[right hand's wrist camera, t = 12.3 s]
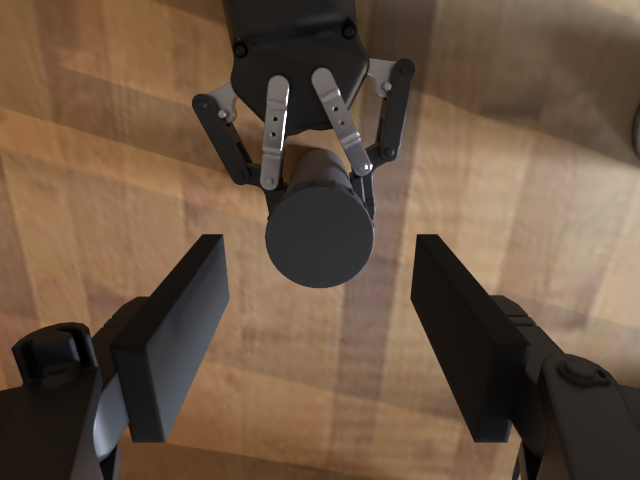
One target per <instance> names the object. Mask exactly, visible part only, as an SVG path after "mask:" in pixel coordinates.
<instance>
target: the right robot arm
mask: <svg viewBox="0 0 640 480" xmlns="http://www.w3.org/2000/svg"><path fill="white" fill-rule="evenodd" d="M228 301H229V289H228V279H227V269H226V259H225V249H224V239H223V234H202V236H201V237H200V238H199V239H198V240H197V242H196V243H195V244H194V245H193V246H192V247H191V249H190V250H189V251H188V252H187V253H186V254H185V256H184V257H183V258H182V259H181V260H180V262H179V263H178V264H177V265H176V266H175V267H174V269H173V270H172V271H171V272H170V273H169V274H168V276H167V277H166V278H165V279H164V280H163V282H162V283H161V284H160V285H159V286H158V287H157V289H156V290H155V291H154V292H153V293H152V295H151V296H150V297H136V298H135V299H133V300H131V301H129V302H128V303H126V304H124V305H123V306H121V308H120V309H119V310H118V311H117V312H116V313H115V314H114V315H113V316H112V319H109V320H108V321H107V322H106V323H105V324H104V327H103V328H101V329H100V330H99V331H98V332H97V333H96V334H95V335H94V336H93V337H92V338H91V335H90V331H89V328H88V327H87V326H85V325H84V324H82V323H75V322H69V323H59V324H55V325H51V326H47V327H44V328H42V329H39V330H37V331H34V332H32V333H30V334H28V335H27V336H25V337H24V338H22V339H20V340H19V341H18V342H17V343H16V344H15V345H14V346H13V347H12V348H11V349H12V352H13V355H14V358H15V360H16V363H17V366H18V369H19V371H20V374H21V377H22V380H23V384H22V386H21V387H16V388H11V389H7V390H2V391H0V480H119V474H120V466H121V458H122V454H121V448H120V444H119V439H120V437H121V435H122V434H123V432H124V430H125V429H126V427H127V425H129V429H130V433H131V437H132V442H166V440H167V438H168V435H169V433H170V431H171V429H172V426H173V424H174V422H175V420H176V417H177V415H178V413H179V411H180V408H181V406H182V404H183V402H184V399H185V397H186V395H187V393H188V391H189V388H190V386H191V384H192V382H193V379H194V377H195V375H196V373H197V370H198V368H199V366H200V364H201V361H202V359H203V357H204V355H205V352H206V350H207V348H208V346H209V344H210V341H211V339H212V337H213V335H214V332H215V330H216V328H217V326H218V323H219V321H220V319H221V317H222V314H223V312H224V310H225V308H226V305H227V303H228ZM411 301H412V303H413V305H414V308H415V310H416V312H417V314H418V317H419V319H420V321H421V323H422V326H423V328H424V330H425V332H426V335H427V337H428V339H429V341H430V344H431V346H432V348H433V350H434V352H435V355H436V357H437V359H438V361H439V364H440V366H441V368H442V370H443V373H444V375H445V377H446V379H447V382H448V384H449V386H450V388H451V391H452V393H453V395H454V397H455V399H456V402H457V404H458V406H459V408H460V411H461V413H462V415H463V417H464V420H465V422H466V424H467V426H468V429H469V431H470V433H471V435H472V438H473V440H474V442H508V437H509V433H510V429H511V425H512V423H513V425H514V427H515V428H516V430H517V432H518V433H519V435H520V437H521V439H522V440H521V444H520V448H519V452H518V455H517V459H516V463H515V467H514V470H513V476H512V480H518V477H519V474H520V473H521V480H640V389H637V388H632V387H627V386H622V385H618V384H617V382H616V381H615V379H614V378H613V377H612V376H611V374H610V373H609V372H607V371H606V370H605V369H603V368H602V367H600V366H599V365H597V364H595V363H593V362H591V361H589V360H587V359H585V358H581V357H578V356H575V355H571V354H565V353H564V352H563V351H562V350H561V349H560V348H559V347H558V346H557V345H556V344H555V343H554V342H553V341H552V340H551V339H550V338H549V336H548V335H547V334H546V333H545V332H544V331H543V330H542V329H541V328H540V327H539V326H537V324H536V323H535V322H534V321H533V320H532V319H531V318H530V317H528V314H527V313H526V312H525V311H524V310H523V309H522V308H521V307H520V306H519V305H518V304H516V303H515V302H513V301H511V300H510V299H508V298H506V297H504V296H503V295H488V293H487V292H486V291H485V290H484V289H483V287H482V286H481V285H480V284H479V283H478V282H477V280H476V279H475V278H474V277H473V276H472V275H471V273H470V272H469V271H468V270H467V269H466V267H465V266H464V265H463V264H462V263H461V262H460V260H459V259H458V258H457V257H456V256H455V254H454V253H453V252H452V251H451V250H450V249H449V247H448V246H447V245H446V244H445V243H444V242H443V240H442V239H441V238H440V237H439V236H438V234H417V239H416V249H415V259H414V269H413V279H412V289H411Z"/></svg>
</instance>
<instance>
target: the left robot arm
mask: <svg viewBox="0 0 640 480" xmlns="http://www.w3.org/2000/svg"><path fill="white" fill-rule="evenodd" d="M222 3H223V8H224V13H225V17H226V22H227V27H228V31H229V36H230V41H231V46H232V50H233V56H234V63H233V69H232V73H231V82H229V83H227V84H225V85H224V86H222V87H220V88H218V89H216V90H214V91H212V92H210V93H208V94H198V95H196V96H195V97H194V98H193V100H192V107H193V109H194V111H195V113H196V115H197V116H198V118H199V120H200V122H201V124H202V126H203V127H204V129H205V131H206V133H207V135H208V137H209V138H210V140H211V142H212V144H213V146H214V147H215V149H216V151H217V153H218V155H219V157H220V158H221V160H222V162H223V164H224V166H225V168H226V169H227V171H228V173H229V175H230V177H231V178H232V180H233V182H234V183H236V184H238V185H244V184H250V185H255V186H258V187H260V188H261V189H262V190H263V191H264V193H265V196H266V201H267V206H268V211H269V213H270V211H272V210H273V208H274V206H275V204H276V203H277V200H278V198H279V196H280V195H281V196H282V195H283V194H284V193H285V192H286V190H287V187H288V185H287V183H284V182H283V177H282V171H283V163H284V155H285V149H286V143H287V136H291V135H297V134H299V133H301V132H303V131H305V130H308V129H312V130H321V131H322V130H328V129H334V130H335V132H336V134H337V136H338V139H339V141H340V143H341V145H342V147H343V149H344V151H345V153H346V155H347V158H348V160H349V162H350V164H351V170H352V172H350V173H349V177H350V183H351V185H352V188H353V191H354V192H355V193H356V194H357V195H358V197H359V198H360V199H361V200H362V202H365V204H366V206H367V208H368V209H367V212H368V214H369V216H370V219H371V220H372V219H374V216H375V213H376V209H375V200H374V191H373V181H372V175H373V172H374V170H375V169H376V168H377V167H378V166H380V165H382V164H384V163H386V162H390V161H393V160H395V159H396V158H397V156H398V154H399V149H400V143H401V138H402V133H403V128H404V123H405V118H406V113H407V107H408V102H409V97H410V92H411V87H412V82H413V77H414V71H415V67H414V64H413V62H412V61H411V60H409V59H401V60H399V61H396V62H395V61H388V60H380V59H373V58H369V56H368V53H367V51H366V50H365V48H364V47H363V45H362V43H361V41H360V39H359V35H358V30H357V21H356V12H355V2H354V0H222ZM366 75H367V76H369V77H370V78H372V80H373V82H374V91H375V93H376V95H378V96H379V97H383V100H382V106H381V112H380V118H379V124H378V129H377V135H376V141H375V144H373V145H371V146H369V147H367V148H366V149H365V148H364V146H363V144H362V142H361V139H360V137H359V134H358V132H357V130H356V127H355V125H354V123H353V121H352V119H351V116H350V114H349V112H348V111H349V109H350V107H351V105H352V103H353V101H354V99H355V97H356V95H357V93H358V91H359V89H360V87H361V85H362V83H363V81H364V79H365V77H366ZM238 98H240V99H241V100H242V101H243V102H244V103H245V104H246V105H247V106H248V107H249V108H250V109H251V110H252V111H253V112H254V113H255V114H256V115H257V116H258V117H259V118H260V119H261V120H262V121H263V122H264V123H265V126H264V136H263V146H262V153H263V156H262V164H257V163H253V162H252V160H251V158H250V156H249V154H248V152H247V150H246V148H245V146H244V144H243V142H242V140H241V138H240V137H239V135H238V133H237V131H236V129H235V127H234V125H233V123H232V122H233V121H234V120H235V119H236V117H237V111H236V107H235V103H236V100H237V99H238ZM633 140H634V146H635V150H636V153H637V155H638V157H639V159H640V108H639V111H638V113H637V116H636V120H635V124H634V131H633Z"/></svg>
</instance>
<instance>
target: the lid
mask: <svg viewBox="0 0 640 480" xmlns="http://www.w3.org/2000/svg"><path fill="white" fill-rule="evenodd" d="M367 209H368V208H367V206H366V204H365V202H362V200H361V199H360V198H359V197H358V195H357V194H356V193H355V192H354V191H353V189H352V188H350V189H349V188H348V187H347V186H345V185H343V184H341V183H338V182H335V180H334V179H333V180H332V181H331V180H325V179H315V178H313V180H308V181H305V182H302V183H299V184H296V183H295V184H294V186H293V187H292V188H290V189H289V190H287V191H286V192H285V193H284V194H283V195H282V196H281V195H280V196H279V198H278V200H277V203H276V204H275V206H274V208H273V210H272V211H270V213H269V216H268V218H267V220H268V223H267V227H266V234H265V240H266V247H267V251H268V254H269V256H270V259H271V260H272V262H273V264H274V265H275V267H276V268H277V269H278V270H279V271H280V272H281V273H282V274H283V275H284V276H285V277H287V278H288V279H290V280H291V281H293V282H295V283H297V284H300V285H303V286H306V287H312V288H328V287H333V286H337V285H340V284H342V283H345V282H346V281H348V280H350V279H352V278H353V277H354V276H356V275H357V274H358V273H359V272H360V271H361V270H362V269H363V267H364V266H365V265H366V263H367V261H368V260H369V258H370V255H371V253H372V249H373V245H374V230H373V228H374V224H373V222H372V220H371V219H370V216H369V214H368V212H367Z"/></svg>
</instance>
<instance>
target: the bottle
mask: <svg viewBox="0 0 640 480" xmlns="http://www.w3.org/2000/svg"><path fill="white" fill-rule="evenodd" d="M313 178H315V179H325V180H331V181H332V180H333V179H334V180H335V182H338V183H341V184H343V185H345V186H347V187H348V188H349V189H350V188H352V185H351V183H350V180H349V177H348V174H347V172H346V169H345V166H344V164H343V162H342V160H341V159H340V158H339V157H338V156H337V155H336V154H335V153H333V152H331V151H329V150H325V149H315V150H311V151H309V152H307V153H305V154H304V155H302V156H301V157H300V159H299V160H298V161H297V163H296V165H295V168H294V171H293V173H292V176H291V179H290V181H289V184H288V187H287V190H289V189H290V188H292V187H293V186H294V184H295V183H296V184H299V183H302V182H305V181H308V180H313ZM352 189H353V188H352ZM287 190H286V191H287Z"/></svg>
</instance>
